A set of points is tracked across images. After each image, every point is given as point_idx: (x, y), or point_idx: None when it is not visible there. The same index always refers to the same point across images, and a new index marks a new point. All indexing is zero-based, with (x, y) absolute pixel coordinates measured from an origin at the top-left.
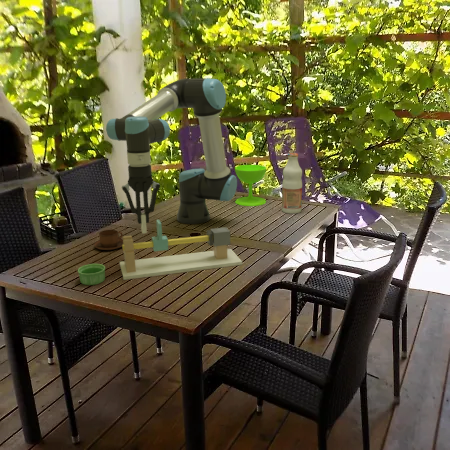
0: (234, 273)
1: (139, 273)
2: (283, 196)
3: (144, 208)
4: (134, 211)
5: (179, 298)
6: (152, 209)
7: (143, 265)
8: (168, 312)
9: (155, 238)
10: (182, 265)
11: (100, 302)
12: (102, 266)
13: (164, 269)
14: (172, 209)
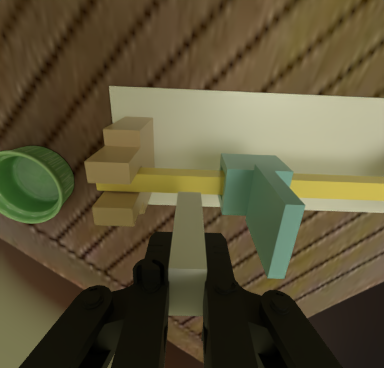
0: (374, 246)
1: (163, 198)
2: None
3: (209, 321)
4: (105, 351)
5: None
6: (271, 358)
7: (182, 147)
8: (190, 331)
9: (237, 193)
10: None
11: (78, 277)
12: (52, 176)
13: None
14: None
